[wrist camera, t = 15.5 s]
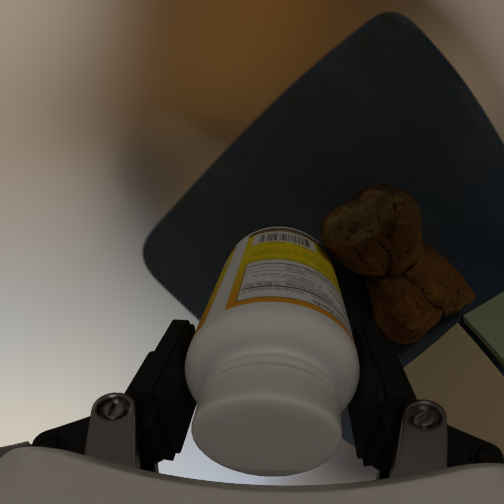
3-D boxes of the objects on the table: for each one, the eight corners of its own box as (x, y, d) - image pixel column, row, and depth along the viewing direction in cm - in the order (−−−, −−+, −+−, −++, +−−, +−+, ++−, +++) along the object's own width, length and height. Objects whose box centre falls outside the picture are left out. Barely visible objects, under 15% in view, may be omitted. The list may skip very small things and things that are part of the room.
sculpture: (448, 156, 9) (506, 394, 13) (406, 127, 18) (474, 297, 22) (269, 247, 14) (390, 432, 17) (306, 181, 22) (391, 331, 26)
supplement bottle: (263, 334, 18) (238, 497, 9) (205, 257, 17) (118, 406, 7) (351, 290, 16) (397, 456, 7) (299, 201, 15) (314, 330, 6)
